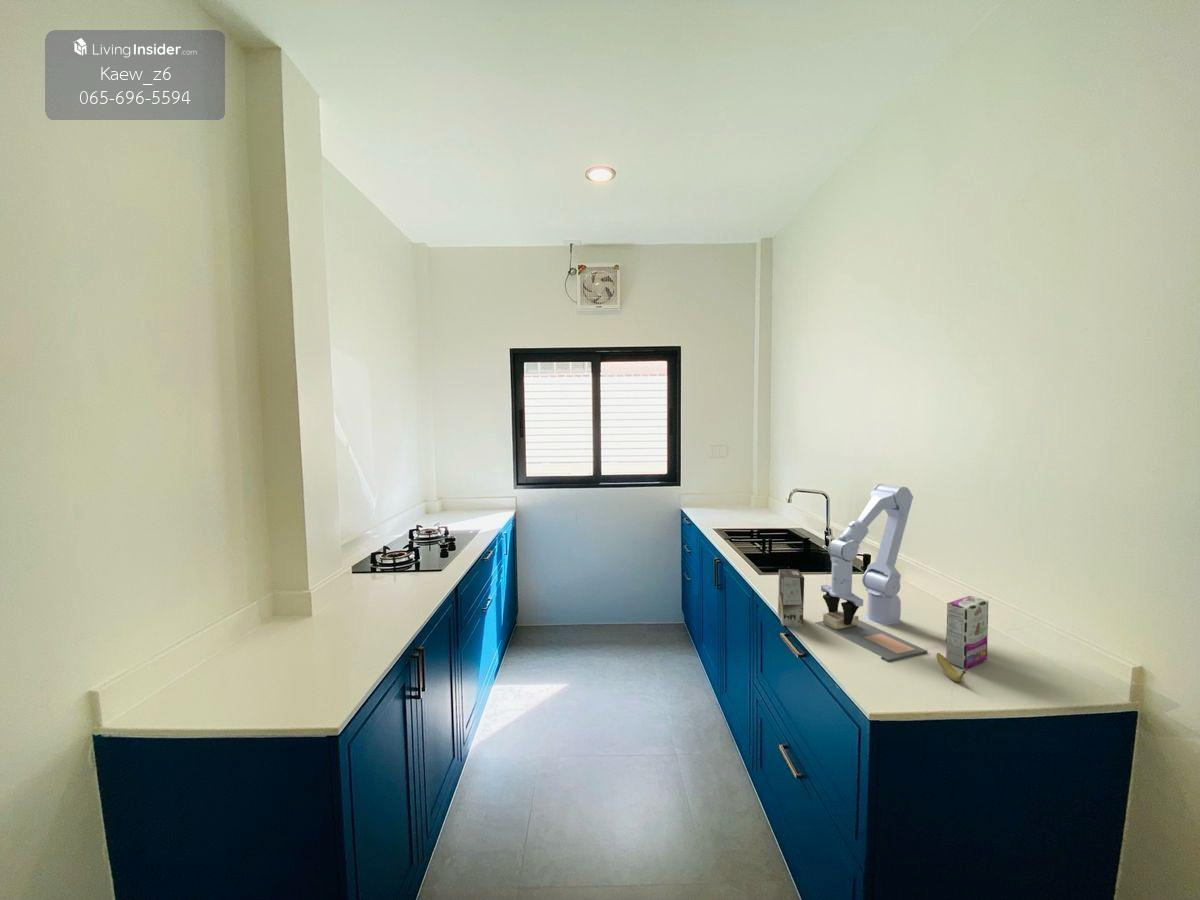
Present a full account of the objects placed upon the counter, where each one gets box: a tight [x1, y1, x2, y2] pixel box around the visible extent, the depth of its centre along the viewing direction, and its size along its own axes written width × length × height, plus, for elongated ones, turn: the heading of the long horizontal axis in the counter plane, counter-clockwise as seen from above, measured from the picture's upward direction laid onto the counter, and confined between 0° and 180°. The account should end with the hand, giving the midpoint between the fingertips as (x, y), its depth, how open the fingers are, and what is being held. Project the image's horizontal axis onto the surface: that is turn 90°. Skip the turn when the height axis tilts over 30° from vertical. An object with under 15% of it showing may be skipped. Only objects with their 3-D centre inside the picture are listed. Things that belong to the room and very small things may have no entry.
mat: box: [814, 619, 928, 663], centre depth 146 cm, size 15×26×1 cm, turn 20°
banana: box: [935, 652, 967, 683], centre depth 123 cm, size 10×2×4 cm, turn 177°
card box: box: [822, 609, 859, 629], centre depth 153 cm, size 9×5×3 cm, turn 110°
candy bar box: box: [945, 595, 989, 670], centre depth 131 cm, size 11×5×16 cm, turn 117°
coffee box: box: [777, 568, 805, 628], centre depth 157 cm, size 9×6×16 cm
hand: (840, 620), depth 153 cm, fingers closed on card box, 5 cm apart
